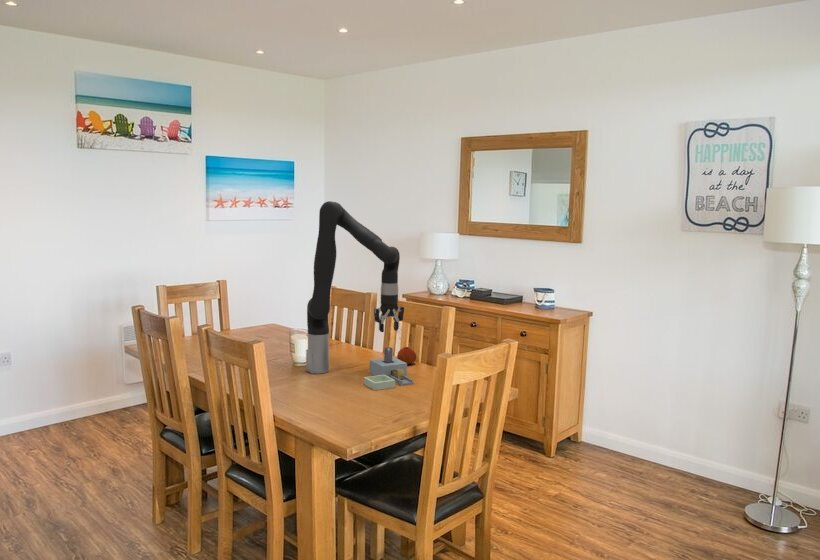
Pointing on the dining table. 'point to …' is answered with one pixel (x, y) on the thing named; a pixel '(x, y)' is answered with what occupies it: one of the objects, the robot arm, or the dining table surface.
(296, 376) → the dining table surface
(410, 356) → the fruit
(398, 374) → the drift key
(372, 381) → the tray
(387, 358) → the drill peg
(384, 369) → the socket block
